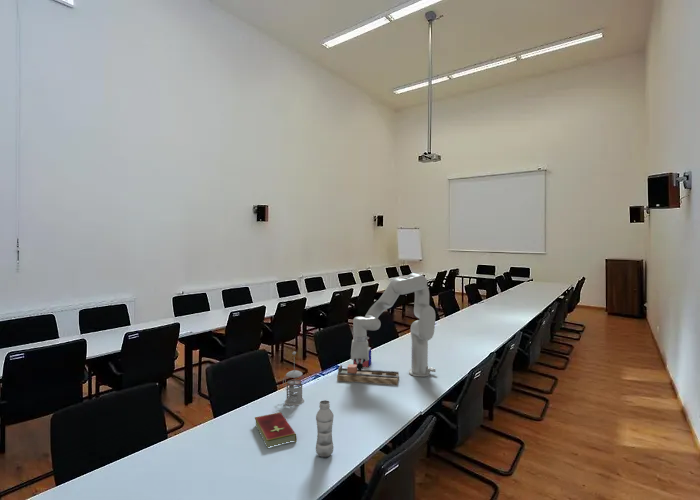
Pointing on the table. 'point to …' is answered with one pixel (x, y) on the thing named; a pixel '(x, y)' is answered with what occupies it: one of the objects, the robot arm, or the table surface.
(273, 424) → the hardcover book
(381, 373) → the track
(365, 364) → the puzzle cube
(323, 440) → the plastic bottle
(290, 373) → the french press
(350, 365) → the block
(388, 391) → the table surface
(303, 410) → the table surface
